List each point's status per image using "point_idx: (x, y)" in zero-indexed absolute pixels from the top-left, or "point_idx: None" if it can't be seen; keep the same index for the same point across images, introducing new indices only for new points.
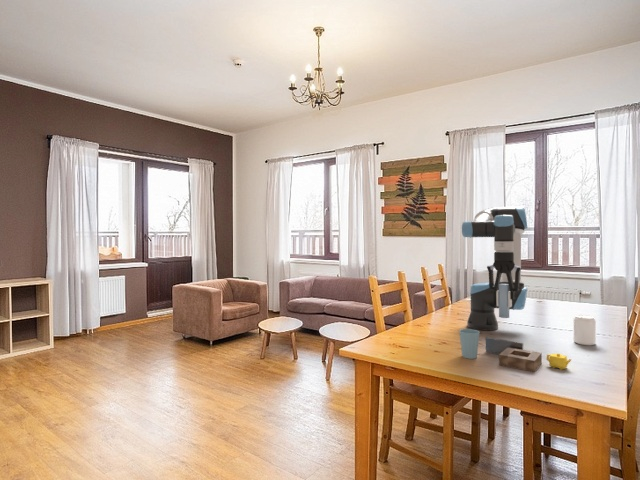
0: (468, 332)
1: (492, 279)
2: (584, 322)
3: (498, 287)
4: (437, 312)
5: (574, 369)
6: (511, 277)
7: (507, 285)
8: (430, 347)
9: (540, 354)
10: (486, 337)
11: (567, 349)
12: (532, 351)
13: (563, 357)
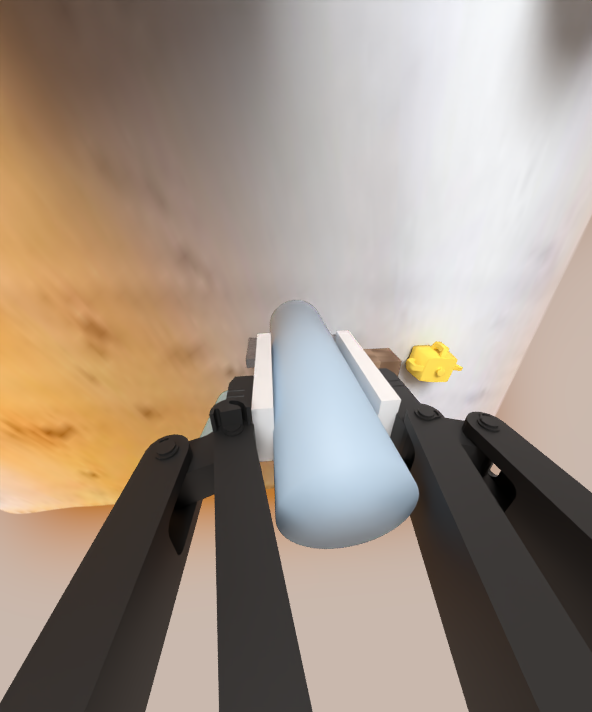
0: (211, 431)
1: (151, 638)
2: None
3: (255, 445)
4: None
5: (452, 347)
6: (570, 661)
7: (393, 516)
8: (111, 396)
9: (397, 372)
10: (246, 361)
11: (481, 122)
12: (380, 364)
13: (447, 375)
